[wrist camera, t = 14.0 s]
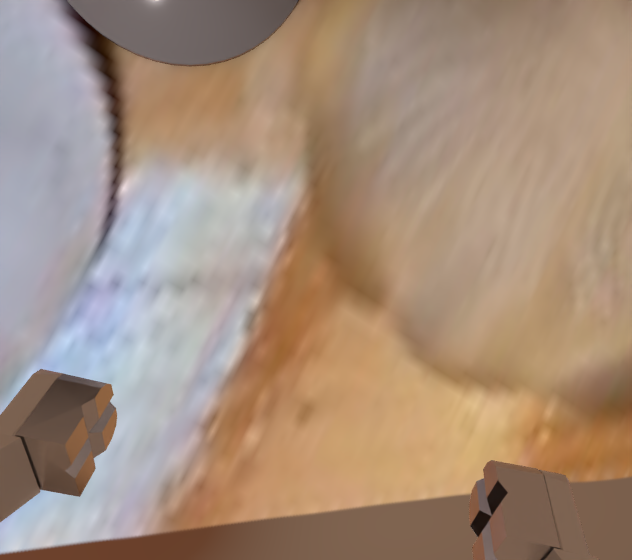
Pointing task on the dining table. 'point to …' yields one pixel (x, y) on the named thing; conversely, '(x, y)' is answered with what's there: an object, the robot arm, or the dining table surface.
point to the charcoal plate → (186, 27)
